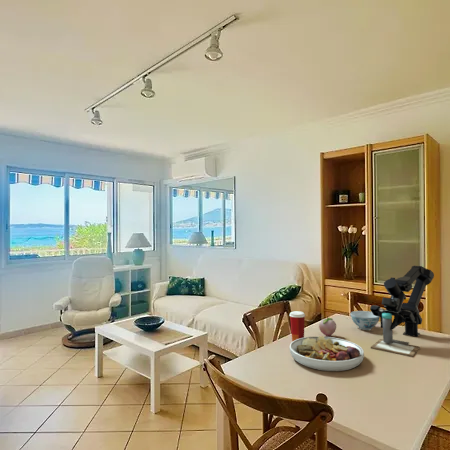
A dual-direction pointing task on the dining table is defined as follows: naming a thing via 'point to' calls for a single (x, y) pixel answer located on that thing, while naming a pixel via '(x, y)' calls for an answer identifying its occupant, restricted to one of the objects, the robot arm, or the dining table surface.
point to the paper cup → (297, 324)
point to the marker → (387, 328)
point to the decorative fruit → (327, 326)
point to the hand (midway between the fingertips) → (386, 328)
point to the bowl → (326, 353)
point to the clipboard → (396, 347)
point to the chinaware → (364, 319)
